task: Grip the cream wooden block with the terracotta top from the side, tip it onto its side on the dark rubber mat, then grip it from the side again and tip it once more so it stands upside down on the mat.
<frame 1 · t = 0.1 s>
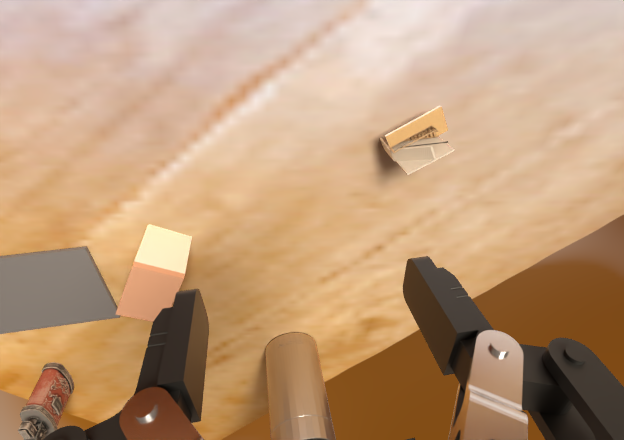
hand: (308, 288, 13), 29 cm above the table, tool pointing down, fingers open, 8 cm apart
lighter: (60, 376, 57), on the table
block: (161, 252, 47), on the table
architectural model: (401, 130, 43), on the table
mat: (30, 292, 47), on the table
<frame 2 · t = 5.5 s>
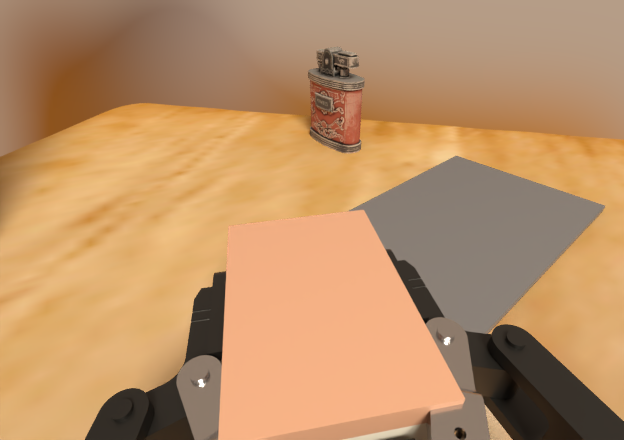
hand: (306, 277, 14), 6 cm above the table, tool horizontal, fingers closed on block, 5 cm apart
lighter: (334, 142, 42), on the table
block: (319, 417, 15), on the table, touching gripper
mat: (462, 222, 27), on the table
when the fingers open (3 cm above the table, at t = 10.9 s): block drops 1 cm, resting on mat.
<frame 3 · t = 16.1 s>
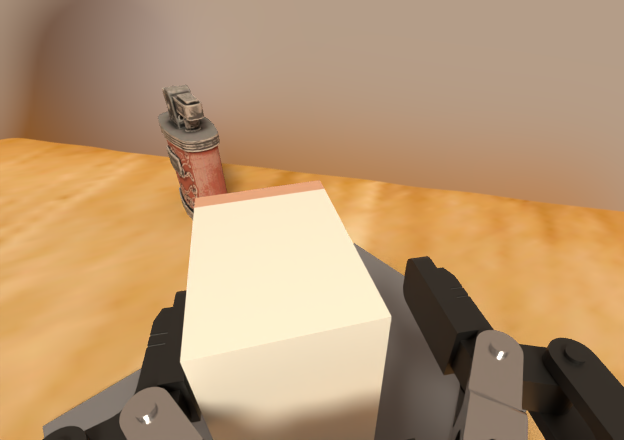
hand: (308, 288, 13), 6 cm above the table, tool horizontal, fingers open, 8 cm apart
lighter: (207, 209, 30), on the table
block: (299, 416, 11), point 4 cm above the table, tilted 90°, touching gripper, mat
mat: (307, 404, 16), on the table
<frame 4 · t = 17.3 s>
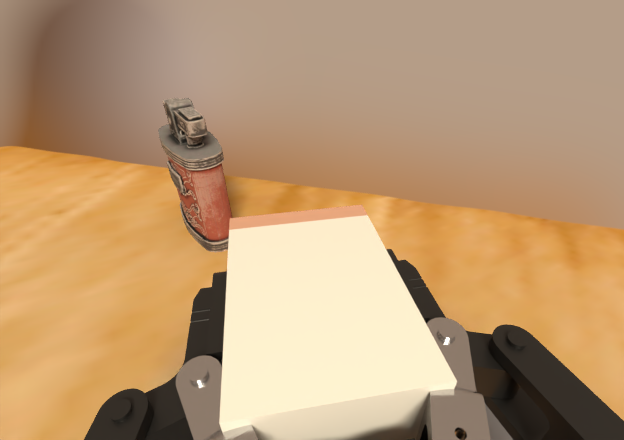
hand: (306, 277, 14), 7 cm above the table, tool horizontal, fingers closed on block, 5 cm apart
lighter: (209, 226, 29), on the table
when the fingers open (3 cm above the table, at t = 22.8 s): block stays where it is, resting on mat.
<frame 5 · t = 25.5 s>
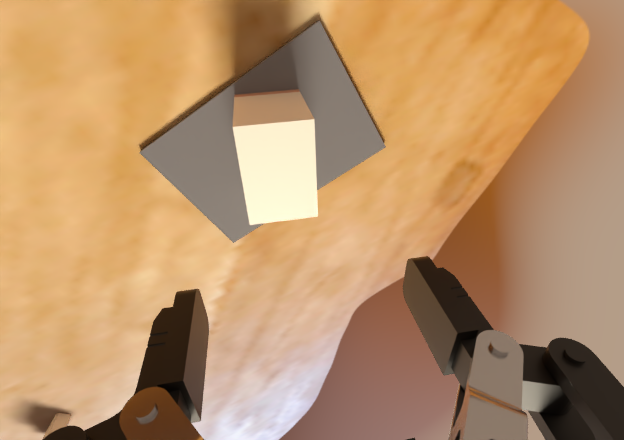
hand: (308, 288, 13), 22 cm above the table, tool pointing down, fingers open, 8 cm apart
block: (279, 176, 26), point 8 cm above the table, tilted 180°, touching mat
architectural model: (60, 418, 53), on the table
mat: (269, 147, 33), on the table
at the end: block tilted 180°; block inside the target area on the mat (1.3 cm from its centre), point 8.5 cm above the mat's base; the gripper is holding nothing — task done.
